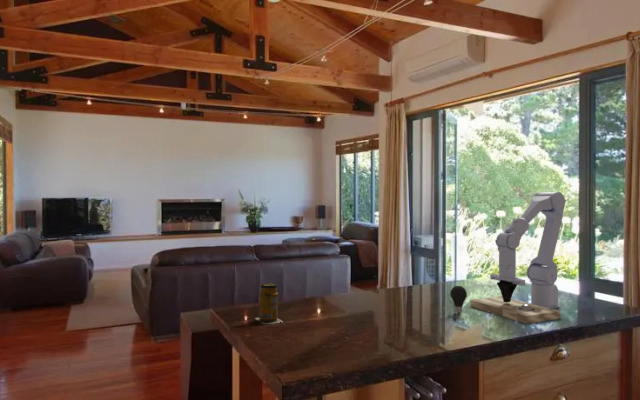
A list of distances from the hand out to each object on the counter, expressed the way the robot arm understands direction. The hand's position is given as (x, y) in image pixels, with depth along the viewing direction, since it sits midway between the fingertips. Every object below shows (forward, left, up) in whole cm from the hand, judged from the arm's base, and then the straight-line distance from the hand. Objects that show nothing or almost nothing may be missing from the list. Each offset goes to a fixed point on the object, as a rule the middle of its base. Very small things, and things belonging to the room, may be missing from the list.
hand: (506, 301), depth 169 cm
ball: (0, +8, -1) cm, 8 cm away
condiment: (+85, -21, -3) cm, 88 cm away
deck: (0, +3, -3) cm, 4 cm away
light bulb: (+20, -3, -3) cm, 21 cm away
